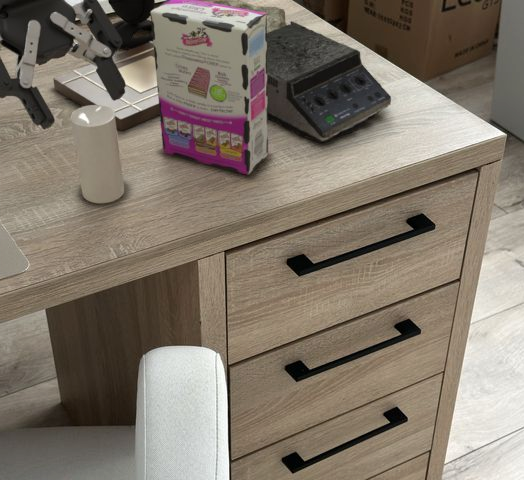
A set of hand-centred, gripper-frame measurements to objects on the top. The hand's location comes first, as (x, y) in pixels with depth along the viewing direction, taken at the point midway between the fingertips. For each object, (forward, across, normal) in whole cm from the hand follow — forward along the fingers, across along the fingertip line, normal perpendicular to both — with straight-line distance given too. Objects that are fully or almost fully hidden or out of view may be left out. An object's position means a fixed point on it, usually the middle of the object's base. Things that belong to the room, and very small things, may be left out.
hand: (85, 110), depth 96 cm
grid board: (-4, +18, +16) cm, 25 cm away
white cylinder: (+7, 0, +5) cm, 9 cm away
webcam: (-12, +25, +25) cm, 37 cm away
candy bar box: (+9, +13, +4) cm, 17 cm away
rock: (-4, +34, +17) cm, 38 cm away
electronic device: (+8, +29, +5) cm, 30 cm away
